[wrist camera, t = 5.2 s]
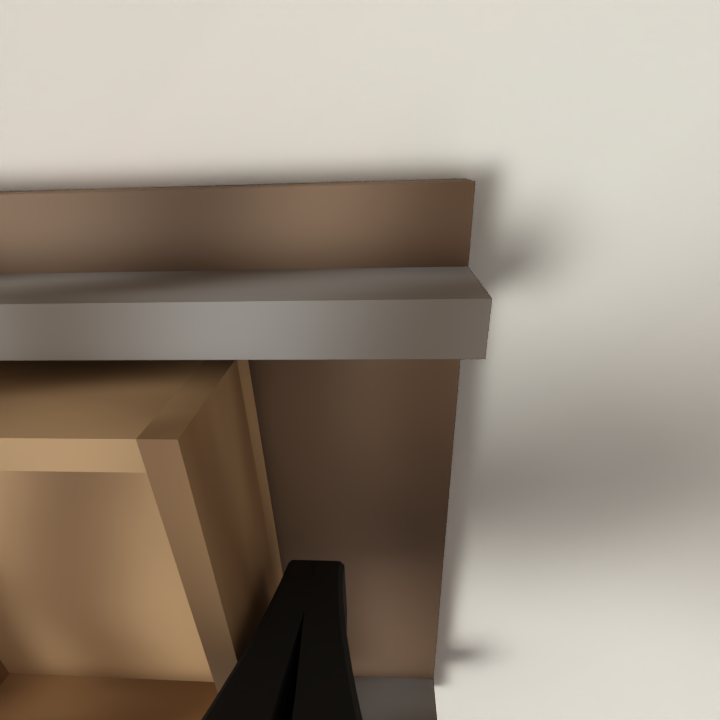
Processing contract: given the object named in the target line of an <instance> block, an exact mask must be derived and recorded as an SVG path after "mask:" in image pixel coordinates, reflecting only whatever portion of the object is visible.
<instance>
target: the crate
mask: <svg viewBox="0 0 720 720" xmlns="http://www.w3.org/2000/svg"><path fill="white" fill-rule="evenodd" d="M282 577H283V573H282V566H281V560H280V554H279V548H278V542H277V535H276V529H275V523H274V517H273V511H272V505H271V498H270V492H269V486H268V480H267V474H266V468H265V461H264V455H263V449H262V443H261V437H260V431H259V424H258V418H257V412H256V406H255V400H254V394H253V387H252V381H251V375H250V369H249V363H248V360H6V361H0V720H201V719H202V718H203V716H204V715H205V713H206V712H207V710H208V709H209V707H210V706H211V704H212V702H213V701H214V699H215V698H216V696H217V694H218V693H219V691H220V690H221V688H222V686H223V685H224V683H225V681H226V680H227V678H228V677H229V675H230V673H231V672H232V670H233V668H234V667H235V665H236V664H237V662H238V660H239V659H240V657H241V655H242V653H243V652H244V650H245V648H246V646H247V644H248V643H249V641H250V639H251V637H252V635H253V634H254V632H255V630H256V628H257V627H258V625H259V623H260V621H261V619H262V617H263V615H264V613H265V612H266V610H267V608H268V606H269V604H270V602H271V600H272V598H273V596H274V594H275V592H276V590H277V588H278V585H279V583H280V581H281V579H282Z"/></svg>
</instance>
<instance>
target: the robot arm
mask: <svg viewBox="0 0 720 720" xmlns="http://www.w3.org/2000/svg"><path fill="white" fill-rule="evenodd" d="M201 720H363V719H362V715H361V710H360V705H359V700H358V696H357V691H356V686H355V681H354V675H353V670H352V664H351V658H350V652H349V645H348V639H347V601H346V584H345V567H344V564H343V563H342V562H340V561H322V560H291V561H290V562H289V563H288V565H287V567H286V570H285V572H284V574H283V577H282V579H281V581H280V583H279V585H278V588H277V590H276V592H275V594H274V596H273V598H272V600H271V602H270V604H269V606H268V608H267V610H266V612H265V613H264V615H263V617H262V619H261V621H260V623H259V625H258V627H257V628H256V630H255V632H254V634H253V635H252V637H251V639H250V641H249V643H248V644H247V646H246V648H245V650H244V652H243V653H242V655H241V657H240V659H239V660H238V662H237V664H236V665H235V667H234V668H233V670H232V672H231V673H230V675H229V677H228V678H227V680H226V681H225V683H224V685H223V686H222V688H221V690H220V691H219V693H218V694H217V696H216V698H215V699H214V701H213V702H212V704H211V706H210V707H209V709H208V710H207V712H206V713H205V715H204V716H203V718H202V719H201Z"/></svg>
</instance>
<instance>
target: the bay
mask: <svg viewBox="0 0 720 720" xmlns="http://www.w3.org/2000/svg"><path fill="white" fill-rule="evenodd" d="M474 191H475V181H472V180H468V179H435V180H399V181H364V182H329V183H293V184H258V185H222V186H187V187H152V188H116V189H81V190H45V191H10V192H0V361H6V360H248V363H249V369H250V375H251V381H252V387H253V394H254V400H255V406H256V412H257V418H258V424H259V431H260V437H261V443H262V449H263V455H264V461H265V468H266V474H267V480H268V486H269V492H270V498H271V505H272V511H273V517H274V523H275V529H276V535H277V542H278V548H279V554H280V560H281V566H282V573H283V574H284V572H285V570H286V567H287V565H288V563H289V562H290V561H291V560H322V561H340V562H342V563H343V564H344V567H345V584H346V601H347V639H348V645H349V652H350V658H351V664H352V670H353V675H354V681H355V686H356V691H357V696H358V700H359V705H360V710H361V715H362V719H363V720H437V714H436V703H435V692H434V682H433V677H434V665H435V653H436V641H437V629H438V617H439V605H440V594H441V582H442V570H443V558H444V546H445V534H446V523H447V511H448V499H449V487H450V475H451V463H452V451H453V440H454V428H455V416H456V404H457V392H458V380H459V369H460V359H485V357H486V348H487V339H488V331H489V322H490V313H491V304H492V298H491V296H490V295H489V294H488V292H487V291H486V290H485V288H484V287H483V286H482V284H481V283H480V282H479V280H478V279H477V278H476V276H475V275H474V274H473V272H472V271H471V270H470V268H469V267H468V262H469V250H470V238H471V226H472V215H473V203H474Z"/></svg>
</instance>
